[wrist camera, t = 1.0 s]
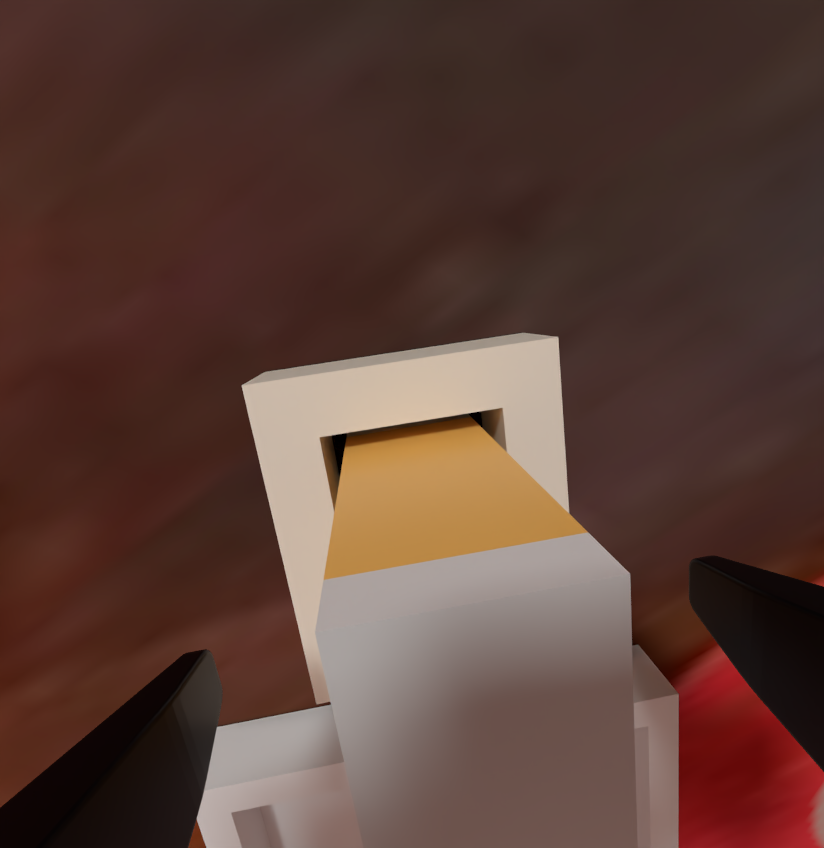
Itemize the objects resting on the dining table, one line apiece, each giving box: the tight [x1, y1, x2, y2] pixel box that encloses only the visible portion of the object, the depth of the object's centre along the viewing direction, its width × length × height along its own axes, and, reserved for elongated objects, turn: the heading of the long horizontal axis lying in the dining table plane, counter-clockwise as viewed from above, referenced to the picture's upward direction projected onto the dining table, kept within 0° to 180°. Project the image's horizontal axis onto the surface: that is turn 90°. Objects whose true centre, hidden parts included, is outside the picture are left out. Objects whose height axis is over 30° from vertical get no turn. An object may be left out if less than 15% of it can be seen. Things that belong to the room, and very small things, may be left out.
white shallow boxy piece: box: [242, 333, 569, 704], centre depth 13 cm, size 8×9×2 cm
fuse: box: [315, 413, 638, 848], centre depth 10 cm, size 4×5×9 cm
